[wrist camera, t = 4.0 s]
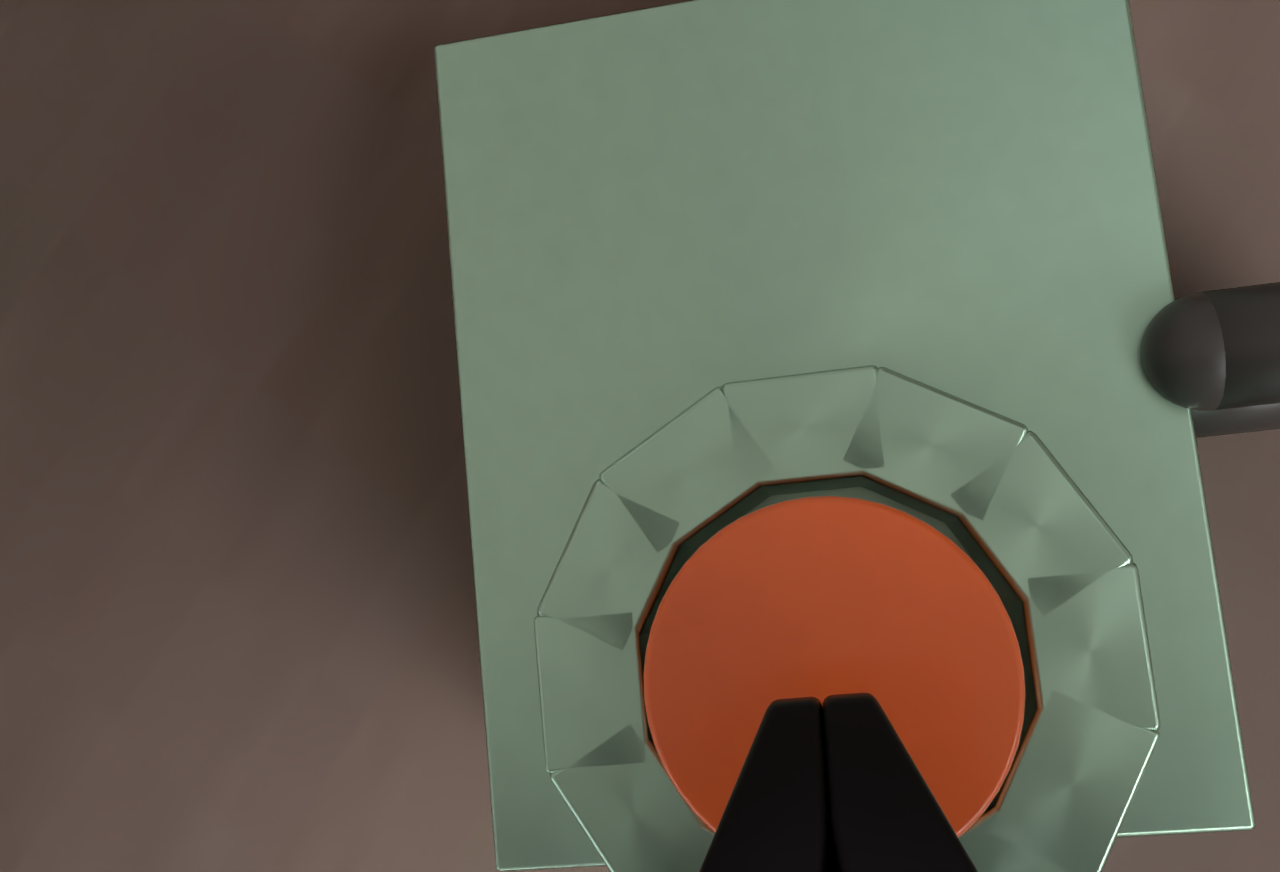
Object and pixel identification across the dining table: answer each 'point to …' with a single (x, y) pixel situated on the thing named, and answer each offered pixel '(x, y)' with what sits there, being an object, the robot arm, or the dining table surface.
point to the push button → (835, 647)
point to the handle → (1219, 358)
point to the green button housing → (826, 386)
